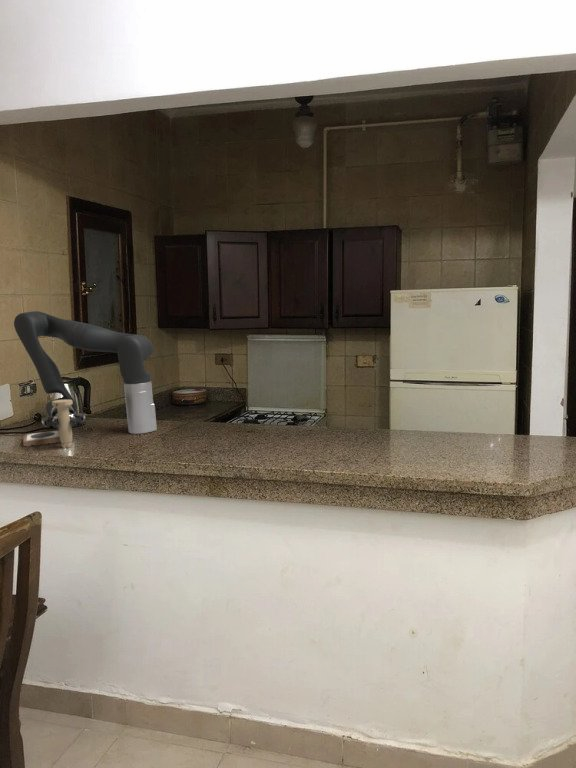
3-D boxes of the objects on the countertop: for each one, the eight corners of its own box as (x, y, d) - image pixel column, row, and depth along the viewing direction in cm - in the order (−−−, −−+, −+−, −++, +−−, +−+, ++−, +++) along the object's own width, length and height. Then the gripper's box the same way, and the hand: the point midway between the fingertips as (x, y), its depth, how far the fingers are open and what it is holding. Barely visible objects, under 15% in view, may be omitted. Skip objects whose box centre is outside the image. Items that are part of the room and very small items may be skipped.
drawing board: (61, 434, 209) (61, 429, 208) (62, 441, 198) (62, 436, 197) (24, 439, 204) (24, 433, 204) (23, 446, 193) (22, 441, 193)
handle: (69, 449, 186) (64, 402, 184) (53, 448, 189) (48, 402, 187) (80, 445, 191) (75, 399, 188) (64, 444, 193) (59, 399, 191)
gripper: (38, 406, 198) (38, 415, 183) (83, 401, 204) (87, 409, 188) (41, 428, 200) (41, 439, 184) (86, 423, 205) (89, 432, 189)
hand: (64, 424), depth 186 cm, fingers open, 4 cm apart
